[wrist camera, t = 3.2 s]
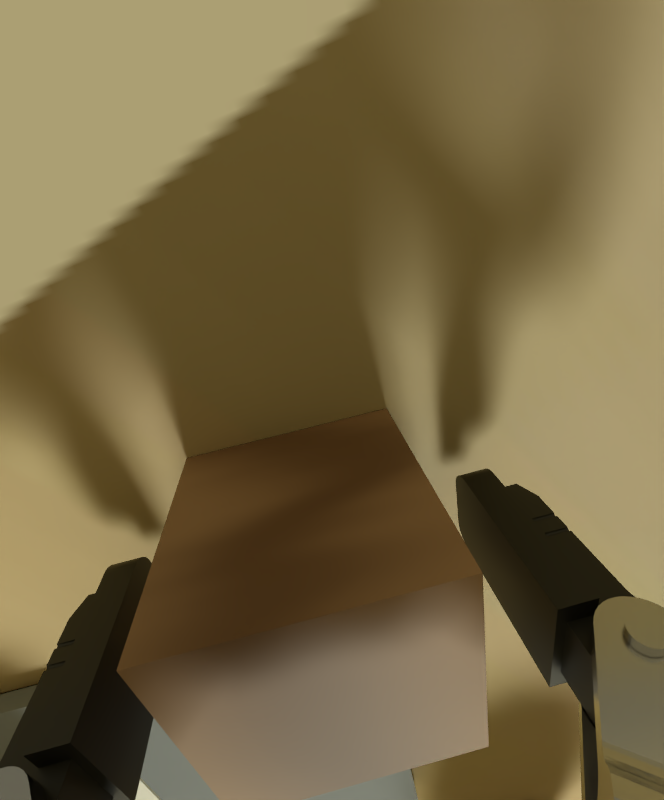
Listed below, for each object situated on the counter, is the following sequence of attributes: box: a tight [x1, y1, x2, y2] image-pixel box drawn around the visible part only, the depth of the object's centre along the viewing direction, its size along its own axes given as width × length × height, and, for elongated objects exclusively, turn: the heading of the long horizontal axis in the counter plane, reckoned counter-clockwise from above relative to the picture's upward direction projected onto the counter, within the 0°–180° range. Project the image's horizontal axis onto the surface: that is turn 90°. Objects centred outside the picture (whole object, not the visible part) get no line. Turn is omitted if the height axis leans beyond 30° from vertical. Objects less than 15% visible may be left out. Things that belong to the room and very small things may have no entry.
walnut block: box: [116, 409, 489, 800], centre depth 9 cm, size 5×5×5 cm
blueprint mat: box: [0, 685, 418, 800], centre depth 15 cm, size 20×14×1 cm
